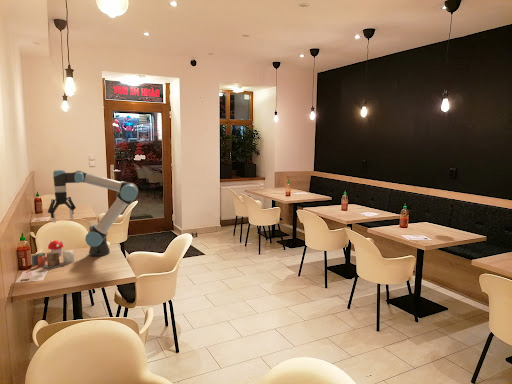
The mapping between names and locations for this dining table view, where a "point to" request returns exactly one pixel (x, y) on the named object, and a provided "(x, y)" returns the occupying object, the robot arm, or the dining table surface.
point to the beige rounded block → (68, 256)
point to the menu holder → (36, 258)
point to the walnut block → (53, 259)
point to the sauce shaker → (41, 260)
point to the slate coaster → (53, 266)
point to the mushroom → (56, 246)
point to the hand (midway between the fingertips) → (63, 220)
